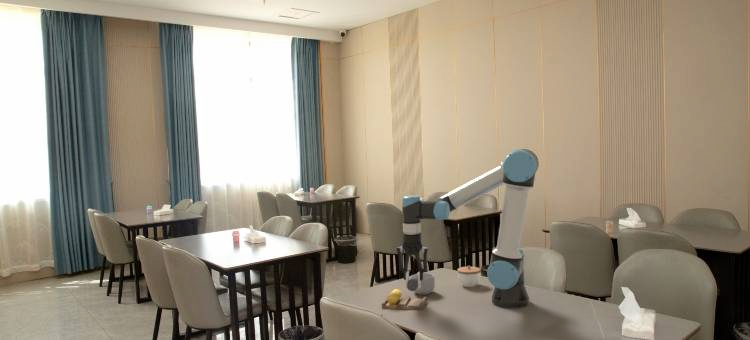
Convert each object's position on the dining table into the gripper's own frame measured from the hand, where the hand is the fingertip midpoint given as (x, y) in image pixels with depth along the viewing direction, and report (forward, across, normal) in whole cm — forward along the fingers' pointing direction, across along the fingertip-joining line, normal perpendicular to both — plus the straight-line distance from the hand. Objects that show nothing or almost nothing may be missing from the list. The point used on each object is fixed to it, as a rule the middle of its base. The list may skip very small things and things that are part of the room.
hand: (413, 287), depth 222 cm
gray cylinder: (-2, 0, 0) cm, 2 cm away
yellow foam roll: (+4, +8, 0) cm, 10 cm away
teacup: (+8, 0, -20) cm, 21 cm away
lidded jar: (+8, -20, -32) cm, 39 cm away
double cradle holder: (+8, +4, 0) cm, 9 cm away
